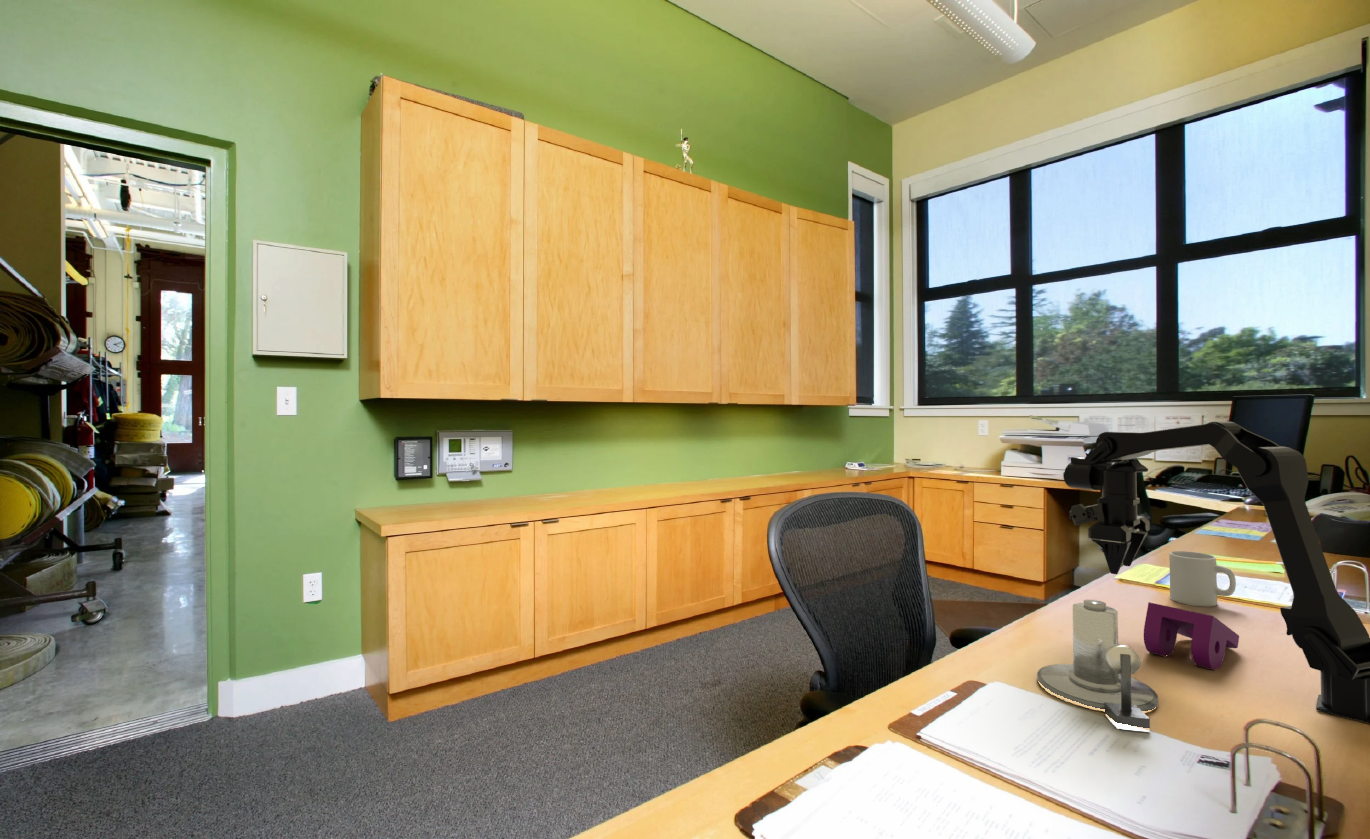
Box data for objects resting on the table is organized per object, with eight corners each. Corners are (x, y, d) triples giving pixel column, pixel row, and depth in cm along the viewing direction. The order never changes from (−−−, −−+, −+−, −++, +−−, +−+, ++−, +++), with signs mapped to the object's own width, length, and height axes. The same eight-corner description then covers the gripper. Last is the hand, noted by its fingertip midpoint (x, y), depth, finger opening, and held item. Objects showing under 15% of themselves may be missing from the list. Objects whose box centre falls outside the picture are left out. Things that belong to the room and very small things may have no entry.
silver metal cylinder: (1129, 696, 91) (1127, 611, 91) (1073, 688, 94) (1072, 606, 94) (1117, 677, 97) (1115, 598, 97) (1065, 670, 100) (1064, 593, 100)
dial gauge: (1150, 733, 82) (1148, 654, 83) (1117, 729, 83) (1115, 651, 84) (1136, 718, 86) (1134, 643, 86) (1104, 715, 87) (1103, 641, 87)
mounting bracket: (1177, 669, 117) (1140, 647, 108) (1184, 626, 119) (1148, 602, 110) (1240, 686, 109) (1205, 664, 100) (1246, 641, 111) (1213, 615, 102)
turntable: (1143, 726, 84) (1143, 717, 84) (1021, 689, 96) (1021, 681, 96) (1169, 691, 95) (1168, 684, 95) (1056, 661, 107) (1056, 655, 107)
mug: (1163, 599, 141) (1162, 554, 142) (1178, 593, 146) (1177, 549, 146) (1229, 613, 131) (1228, 563, 131) (1243, 606, 136) (1242, 558, 136)
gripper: (1087, 486, 132) (1088, 556, 132) (1058, 494, 120) (1059, 570, 120) (1149, 490, 124) (1151, 564, 124) (1124, 498, 112) (1126, 581, 112)
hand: (1120, 569), depth 120 cm, fingers open, 9 cm apart
